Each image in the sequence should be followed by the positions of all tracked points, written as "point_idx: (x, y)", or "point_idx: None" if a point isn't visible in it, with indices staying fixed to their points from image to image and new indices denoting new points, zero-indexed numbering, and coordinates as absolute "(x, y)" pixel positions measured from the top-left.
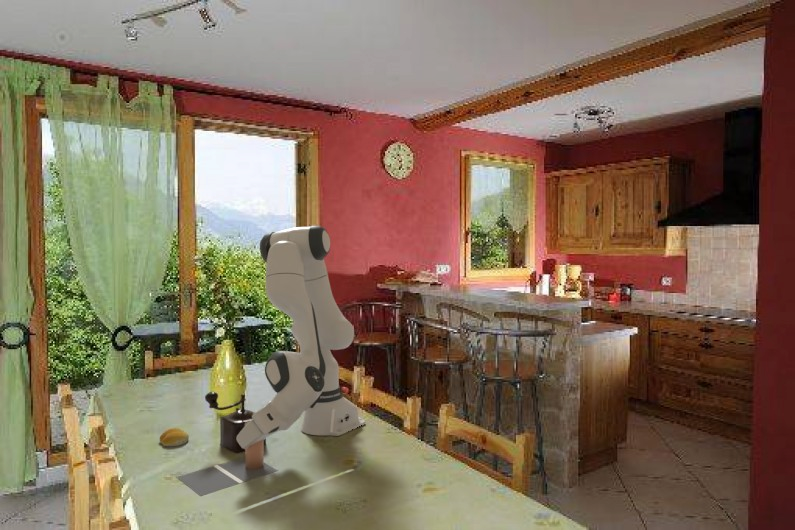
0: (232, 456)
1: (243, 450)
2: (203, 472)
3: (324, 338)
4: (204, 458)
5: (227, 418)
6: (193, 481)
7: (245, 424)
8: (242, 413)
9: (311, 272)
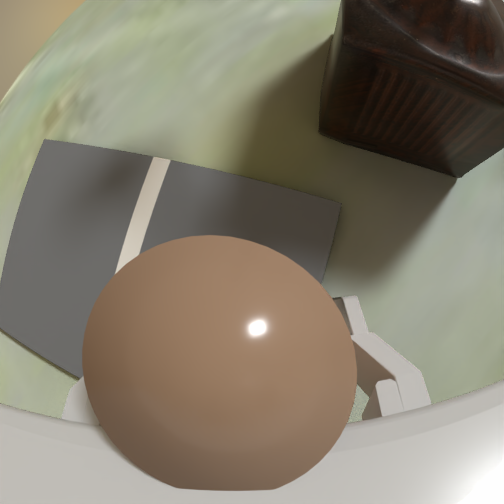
0: (297, 128)
1: (354, 138)
2: (93, 178)
3: None
4: (218, 62)
5: None
6: (34, 216)
7: (109, 296)
8: None
9: None
